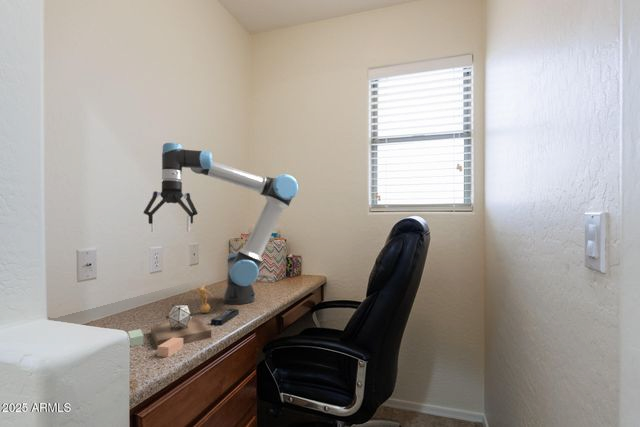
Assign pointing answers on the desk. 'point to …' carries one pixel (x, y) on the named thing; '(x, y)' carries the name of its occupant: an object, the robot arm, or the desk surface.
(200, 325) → the walnut board
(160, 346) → the terracotta brick
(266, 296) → the desk surface
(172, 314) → the game die
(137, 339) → the sage brick
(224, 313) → the multiport hub
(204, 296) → the figurine
